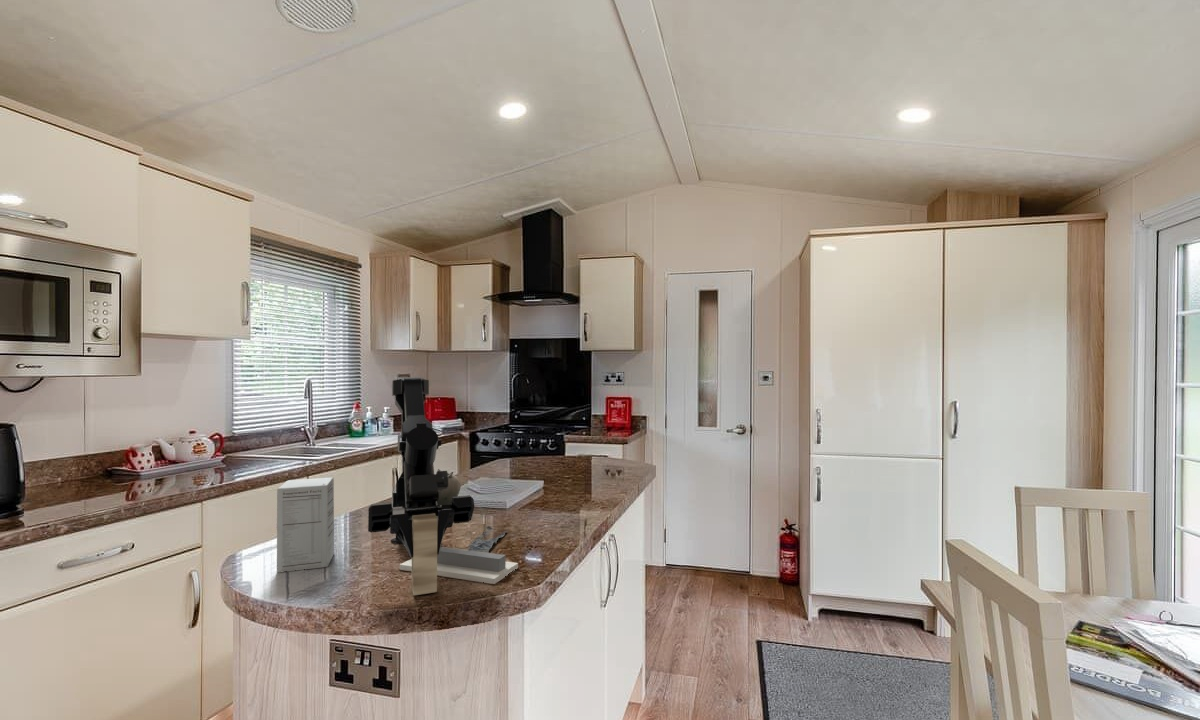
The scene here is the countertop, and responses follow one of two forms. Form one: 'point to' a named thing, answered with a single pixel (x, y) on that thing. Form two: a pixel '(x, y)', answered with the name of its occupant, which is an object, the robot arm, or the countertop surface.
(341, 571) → the countertop surface
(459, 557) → the ridge stand
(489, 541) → the driftwood
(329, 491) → the supplement box
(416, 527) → the brass post
